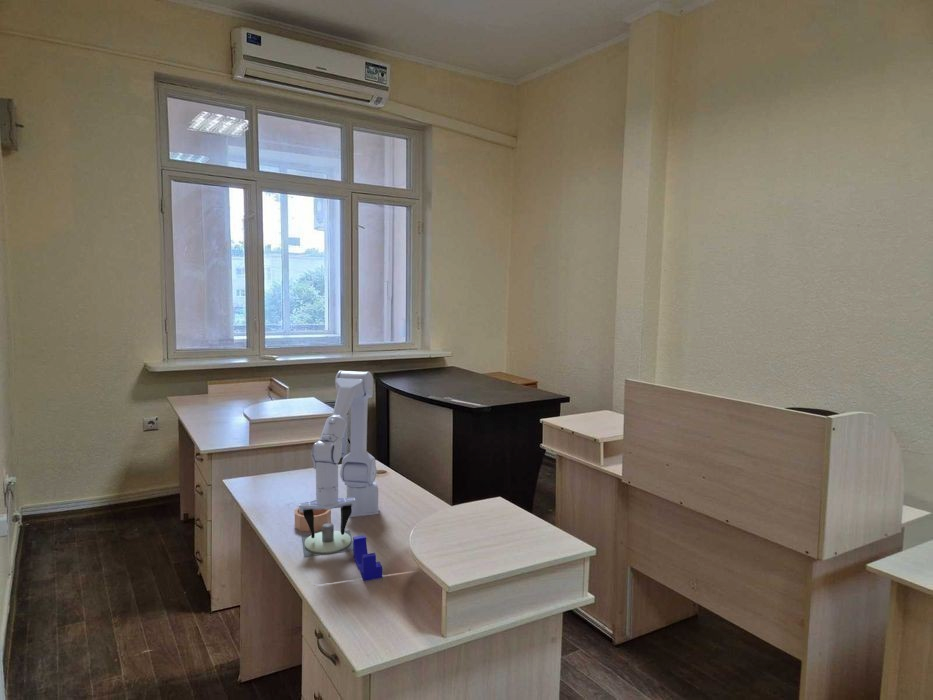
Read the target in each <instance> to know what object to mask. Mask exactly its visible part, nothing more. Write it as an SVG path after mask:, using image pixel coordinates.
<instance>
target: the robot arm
mask: <svg viewBox="0 0 933 700" xmlns="http://www.w3.org/2000/svg"><path fill="white" fill-rule="evenodd" d="M334 383H335V384H334V386H335V390H336V393H337V396H336V399H335V404H334V407H333V412H332V415H330V416H328V417H327V418H326V420H325V423H324V426H323V428H322V431H321V435H320V437H319V439H318V441H316V442H314V443H313V445H312V449H311V454H310V455H311V460H312V463H313V470H315V497H316V498H315V499H314V500H310V501H305V502H298V507H299V513H302V512H303V513H304V517H305V519H306V521H307V523H308V525H309V528H310V535H311V537H312V538H315V531H314V515H313V510H322V509H325V510H328V509H331V510H333V509H339V508H340V531H341V535H344V531H346V526H347V523H348V521H349V518H354V517H363V516H371V515H378V514H379V513H380V512H379V486H378V482H376V478H377V471H378V470H377V463H376V458H375V457H374V456H373V455H372V454H371V453H369V451H367V443H368V437H367V436H368V407H369V406H368V405H369V404H368V403H369V399H371V398H373V393H374V376H373V374H372V373H371V371H357V370H356V371H354V370H338V372H337V373H336V375H335V379H334ZM349 411H350V444H349V445H350V446H349V452H348V453H347V454H346V455H344V457H343V458H342V453H343V439H344V436H345V432H346V429H347V426H348V423H347V421H346V417H347V416H348V413H349ZM341 458H342V460H341ZM340 460H341V467H340V471H339V462H340ZM339 476H340V479H341V481H342V482H343V483H344V485H345V486H346V497H339Z"/></svg>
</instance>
